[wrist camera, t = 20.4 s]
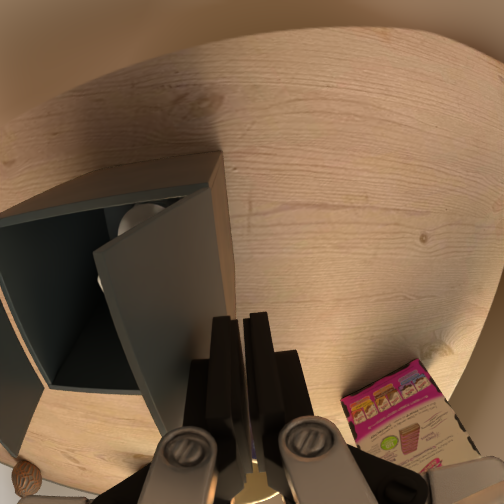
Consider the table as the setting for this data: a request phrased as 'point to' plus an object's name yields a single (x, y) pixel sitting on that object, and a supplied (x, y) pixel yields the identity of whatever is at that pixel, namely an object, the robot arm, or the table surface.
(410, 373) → the candy bar box
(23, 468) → the vase
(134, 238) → the panel
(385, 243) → the table surface
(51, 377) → the chute
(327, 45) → the table surface
